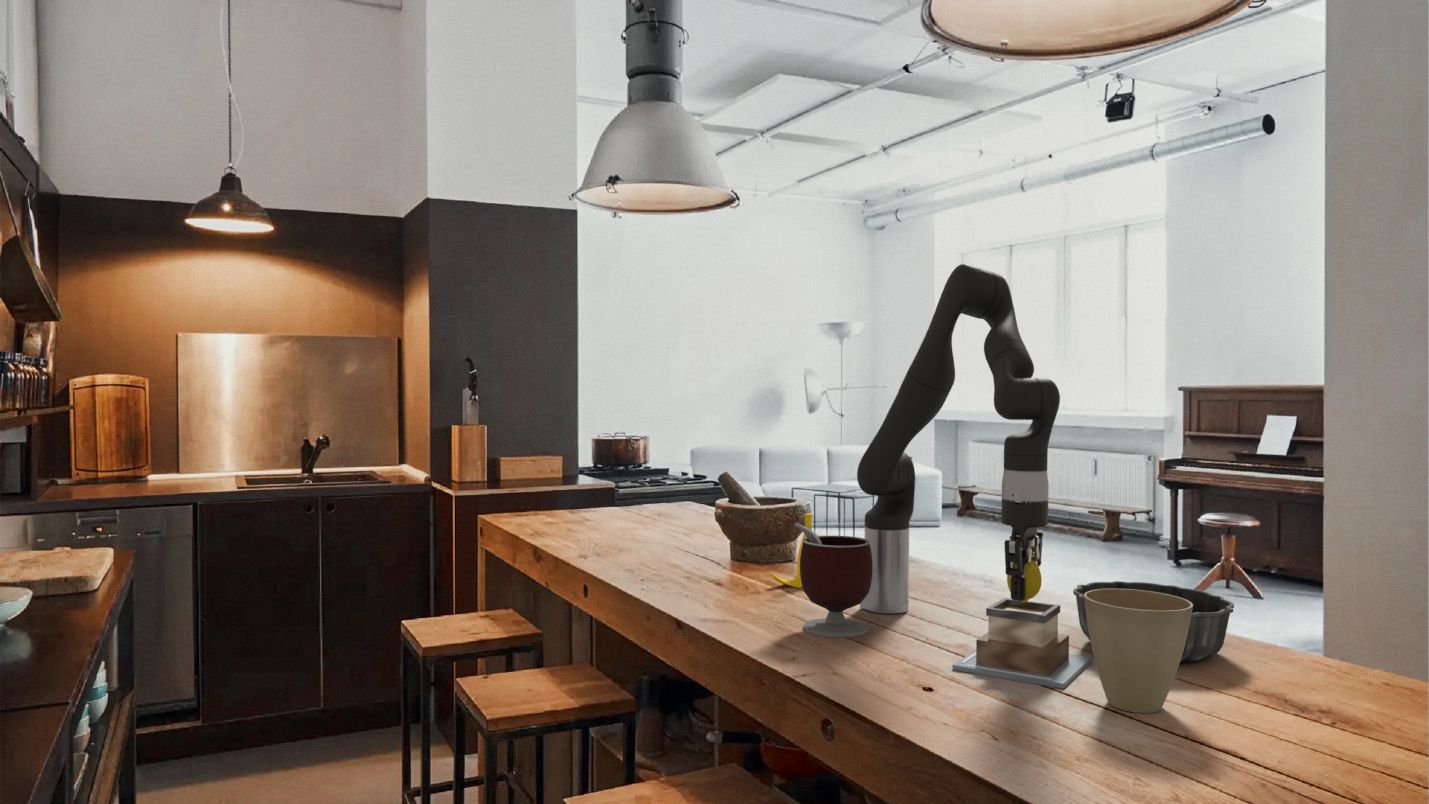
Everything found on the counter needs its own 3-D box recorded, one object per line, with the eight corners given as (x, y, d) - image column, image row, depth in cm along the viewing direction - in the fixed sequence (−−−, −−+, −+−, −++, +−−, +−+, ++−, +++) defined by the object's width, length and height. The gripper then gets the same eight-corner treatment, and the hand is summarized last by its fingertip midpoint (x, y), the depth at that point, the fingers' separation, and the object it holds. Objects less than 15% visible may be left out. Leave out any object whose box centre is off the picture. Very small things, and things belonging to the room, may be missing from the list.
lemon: (1043, 607, 166) (1043, 559, 165) (1008, 605, 167) (1008, 557, 166) (1039, 600, 171) (1039, 553, 171) (1005, 598, 172) (1006, 552, 172)
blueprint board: (952, 669, 166) (952, 664, 166) (987, 645, 181) (987, 640, 181) (1063, 688, 156) (1063, 683, 156) (1091, 661, 171) (1091, 656, 171)
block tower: (976, 663, 167) (976, 608, 167) (998, 647, 177) (999, 595, 177) (1049, 675, 161) (1050, 618, 160) (1068, 658, 171) (1069, 604, 170)
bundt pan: (1221, 639, 187) (1222, 586, 187) (1246, 679, 162) (1247, 617, 162) (1071, 627, 196) (1072, 576, 196) (1073, 663, 171) (1074, 605, 171)
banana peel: (801, 574, 247) (802, 507, 247) (854, 588, 232) (854, 516, 231) (747, 582, 238) (748, 511, 238) (798, 596, 222) (798, 521, 222)
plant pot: (1137, 728, 139) (1139, 614, 139) (1060, 696, 153) (1062, 592, 152) (1214, 714, 145) (1216, 604, 145) (1134, 685, 159) (1135, 585, 158)
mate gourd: (880, 625, 196) (881, 523, 196) (860, 641, 184) (861, 533, 183) (805, 616, 203) (806, 518, 202) (781, 632, 190) (781, 527, 190)
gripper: (1015, 491, 176) (1014, 586, 177) (988, 499, 164) (987, 601, 165) (1059, 494, 172) (1057, 592, 173) (1035, 502, 160) (1033, 607, 161)
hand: (1023, 596), depth 169 cm, fingers closed on lemon, 5 cm apart
